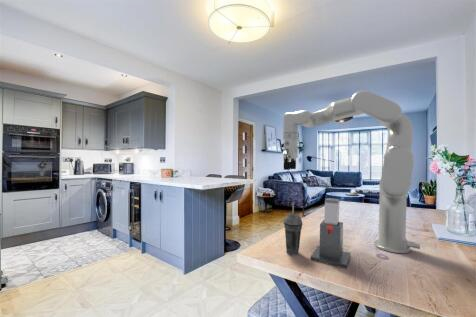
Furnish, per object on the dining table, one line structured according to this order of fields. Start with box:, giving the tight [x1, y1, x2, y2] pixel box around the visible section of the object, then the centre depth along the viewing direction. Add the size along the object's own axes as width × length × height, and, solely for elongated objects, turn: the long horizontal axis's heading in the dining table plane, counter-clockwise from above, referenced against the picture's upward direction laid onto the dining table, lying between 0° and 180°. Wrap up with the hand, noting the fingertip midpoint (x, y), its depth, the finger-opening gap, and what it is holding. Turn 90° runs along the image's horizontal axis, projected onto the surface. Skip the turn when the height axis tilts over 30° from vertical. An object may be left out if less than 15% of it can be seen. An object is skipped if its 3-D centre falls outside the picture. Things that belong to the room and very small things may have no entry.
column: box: [324, 197, 340, 226], centre depth 87 cm, size 4×4×20 cm
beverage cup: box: [283, 202, 303, 256], centre depth 91 cm, size 7×7×20 cm
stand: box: [310, 219, 351, 269], centre depth 87 cm, size 12×12×13 cm
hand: (289, 169), depth 121 cm, fingers open, 9 cm apart
